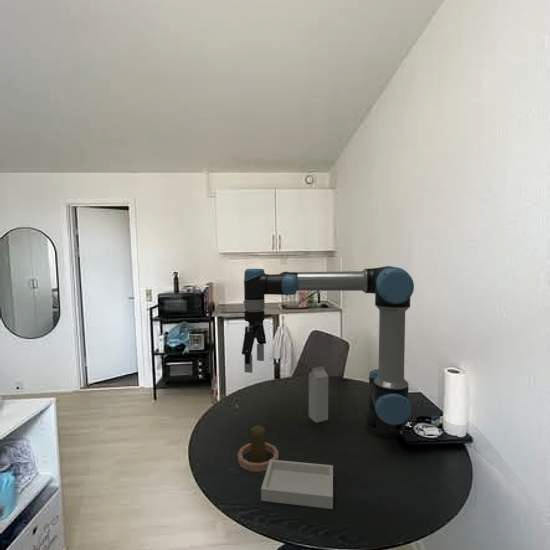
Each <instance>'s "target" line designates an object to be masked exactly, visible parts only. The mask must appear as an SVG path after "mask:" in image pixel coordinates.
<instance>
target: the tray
mask: <svg viewBox="0 0 550 550" xmlns="http://www.w3.org/2000/svg"><path fill="white" fill-rule="evenodd" d="M269 460H270V461H269ZM269 460H268V461H269V464H268V468H267V470H266V471H265V475H264V478H263V482H262V485H261V488H260V497H261V498H260V501H261V502H268V503H277V504H285V505H286V504H287V505H292V506H293V505H294V506H295V505H296V506H303V507H311V508H320V509H327V510H328V509H329V510H333V509H334V479H333V478H334V465H333V464H322V463H310V462H300V461H289V460H281V459H280V460H279V459H278V460H271V458H270V459H269Z"/></svg>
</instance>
